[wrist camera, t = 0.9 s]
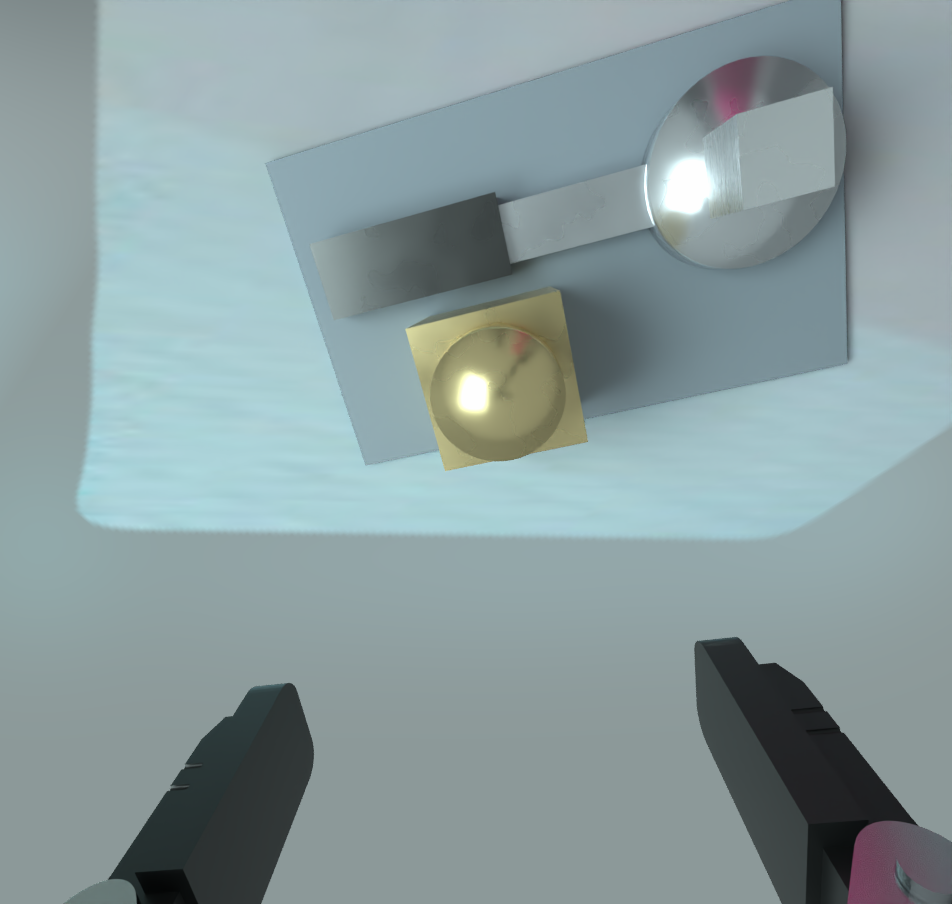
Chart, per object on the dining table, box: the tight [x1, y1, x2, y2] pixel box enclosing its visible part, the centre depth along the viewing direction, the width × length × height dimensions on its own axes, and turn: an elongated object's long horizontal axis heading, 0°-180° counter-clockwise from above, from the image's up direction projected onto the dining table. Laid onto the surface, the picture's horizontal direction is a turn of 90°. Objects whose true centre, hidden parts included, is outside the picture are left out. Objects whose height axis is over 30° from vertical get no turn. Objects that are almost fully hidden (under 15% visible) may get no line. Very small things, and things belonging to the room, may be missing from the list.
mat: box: [266, 0, 847, 465], centre depth 26 cm, size 16×26×1 cm, turn 104°
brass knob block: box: [405, 286, 588, 471], centre depth 24 cm, size 6×6×8 cm
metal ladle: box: [309, 56, 847, 320], centre depth 22 cm, size 8×24×6 cm, turn 104°
